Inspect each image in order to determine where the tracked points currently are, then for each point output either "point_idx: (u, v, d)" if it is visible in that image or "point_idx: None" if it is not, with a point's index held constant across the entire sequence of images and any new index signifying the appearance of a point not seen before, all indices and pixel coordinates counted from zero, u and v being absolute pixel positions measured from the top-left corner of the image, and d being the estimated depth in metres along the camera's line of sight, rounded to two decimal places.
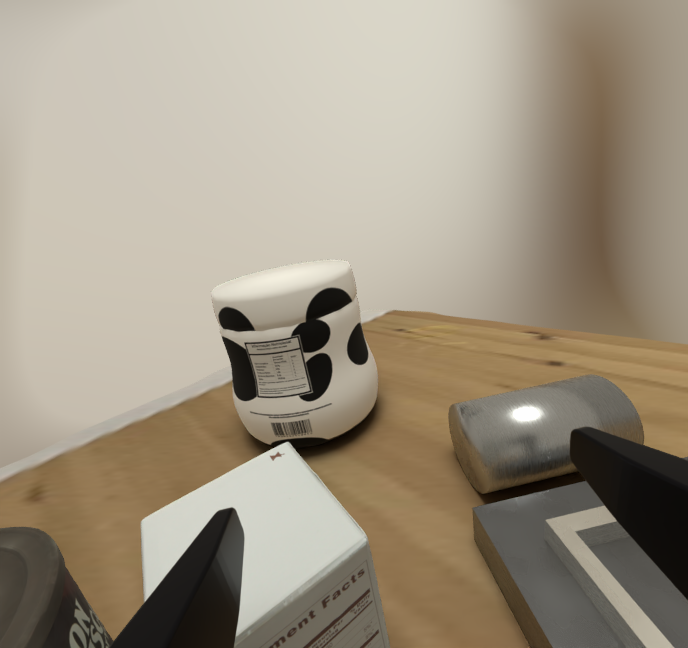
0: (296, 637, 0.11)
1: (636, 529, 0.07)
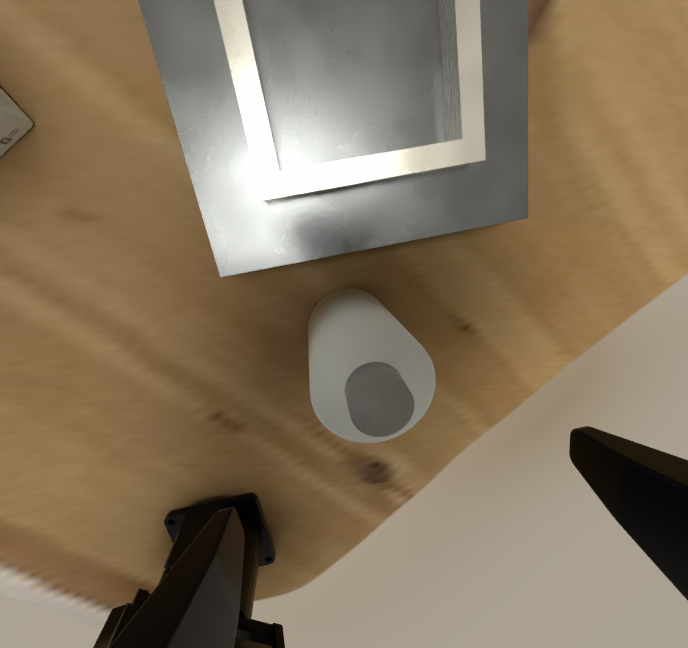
0: None
1: (636, 529, 0.07)
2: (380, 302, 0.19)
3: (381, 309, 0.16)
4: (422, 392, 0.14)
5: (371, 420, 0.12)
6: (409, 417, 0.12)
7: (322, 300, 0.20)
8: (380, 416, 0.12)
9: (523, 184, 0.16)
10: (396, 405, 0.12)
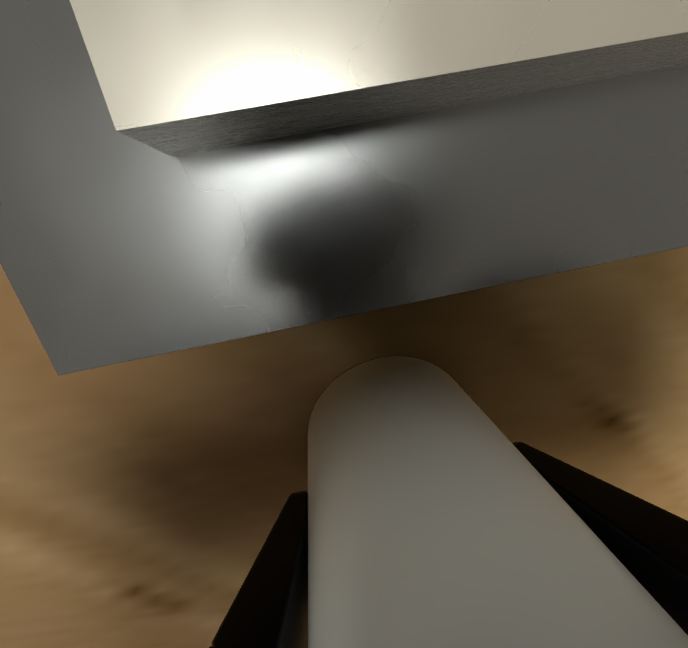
0: None
1: None
2: (465, 393, 0.09)
3: (516, 468, 0.06)
4: None
5: None
6: None
7: (338, 387, 0.09)
8: None
9: None
10: None
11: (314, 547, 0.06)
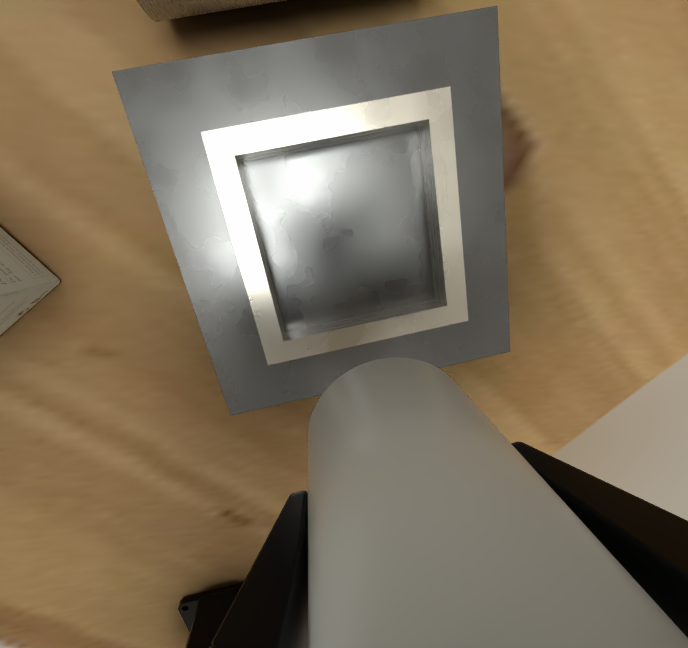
0: None
1: None
2: (465, 394, 0.09)
3: (516, 470, 0.06)
4: None
5: None
6: None
7: (338, 388, 0.09)
8: None
9: (505, 325, 0.18)
10: None
11: (314, 549, 0.06)
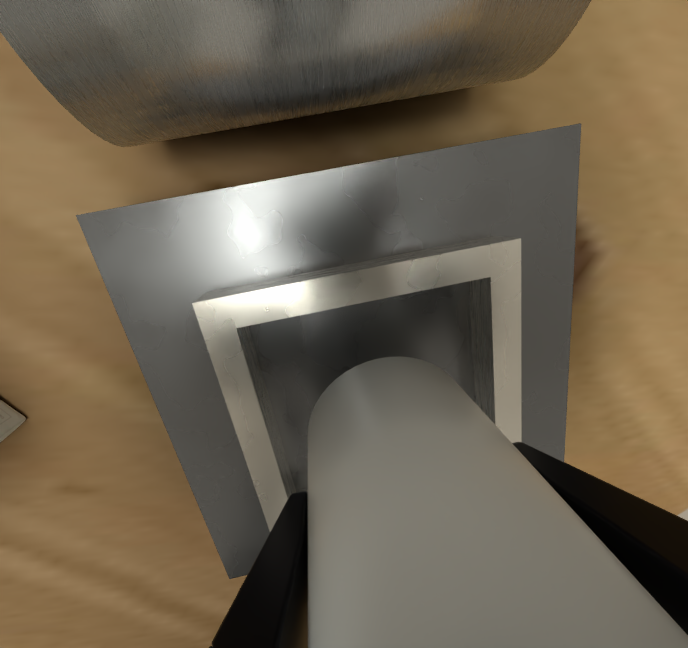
0: None
1: None
2: (465, 393, 0.09)
3: (516, 469, 0.06)
4: None
5: None
6: None
7: (338, 387, 0.09)
8: None
9: None
10: None
11: (314, 549, 0.06)
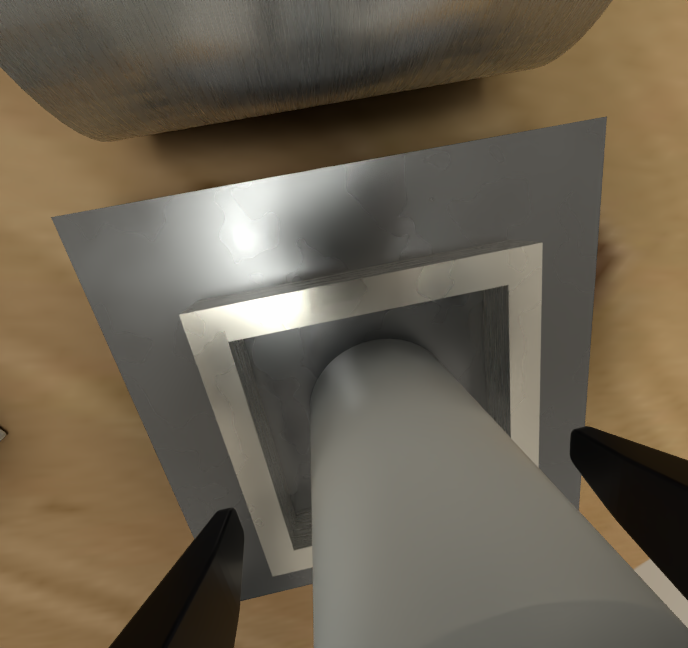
0: None
1: (636, 529, 0.07)
2: (446, 369, 0.10)
3: (478, 418, 0.07)
4: None
5: None
6: None
7: (336, 364, 0.11)
8: None
9: (574, 492, 0.14)
10: None
11: (316, 484, 0.07)
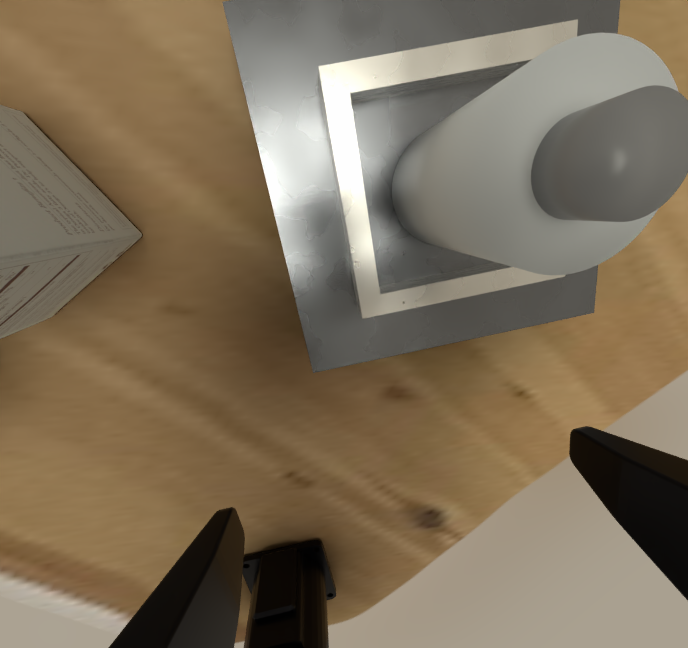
0: None
1: (636, 529, 0.07)
2: None
3: None
4: None
5: (614, 183, 0.07)
6: (679, 181, 0.07)
7: (418, 137, 0.14)
8: (631, 175, 0.07)
9: (592, 284, 0.18)
10: (664, 152, 0.06)
11: (428, 151, 0.11)
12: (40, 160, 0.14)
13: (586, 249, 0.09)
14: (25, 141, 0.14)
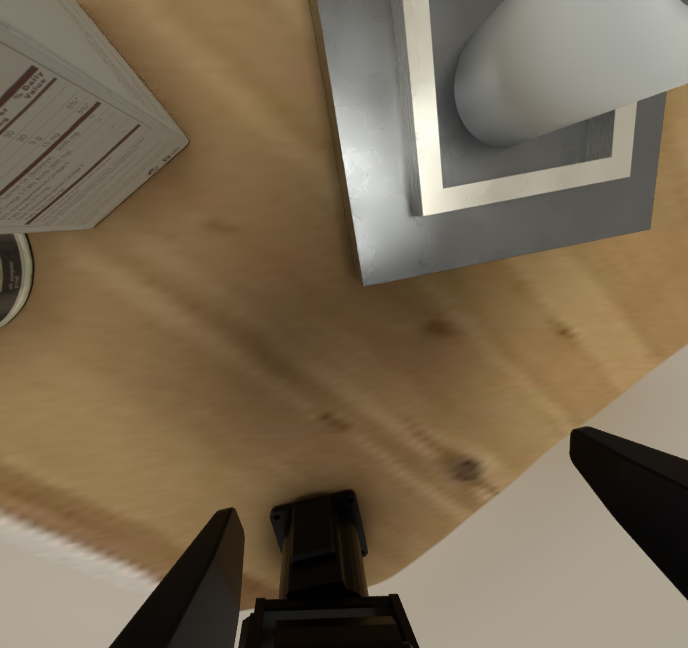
0: None
1: (636, 529, 0.07)
2: None
3: None
4: None
5: None
6: None
7: None
8: None
9: (649, 197, 0.17)
10: None
11: None
12: (97, 35, 0.13)
13: None
14: (82, 17, 0.13)
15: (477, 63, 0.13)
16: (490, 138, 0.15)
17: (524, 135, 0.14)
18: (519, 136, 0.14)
